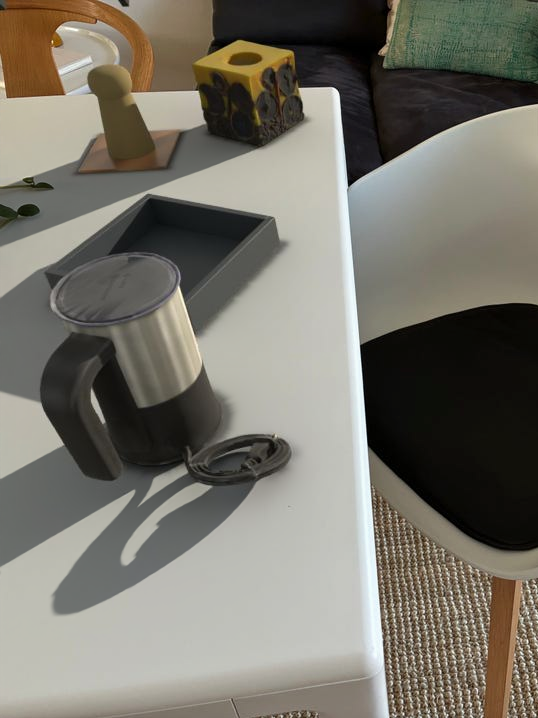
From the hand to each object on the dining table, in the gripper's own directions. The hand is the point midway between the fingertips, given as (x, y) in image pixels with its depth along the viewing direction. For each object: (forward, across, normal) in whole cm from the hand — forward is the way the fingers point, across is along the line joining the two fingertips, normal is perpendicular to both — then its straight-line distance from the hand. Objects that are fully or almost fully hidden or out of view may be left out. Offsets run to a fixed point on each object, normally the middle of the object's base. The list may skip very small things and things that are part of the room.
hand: (59, 2), depth 88 cm
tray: (+32, -12, +3) cm, 35 cm away
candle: (+7, -17, -22) cm, 29 cm away
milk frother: (+51, -19, +22) cm, 58 cm away
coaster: (+11, -1, -18) cm, 21 cm away
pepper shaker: (+11, -1, -18) cm, 21 cm away
